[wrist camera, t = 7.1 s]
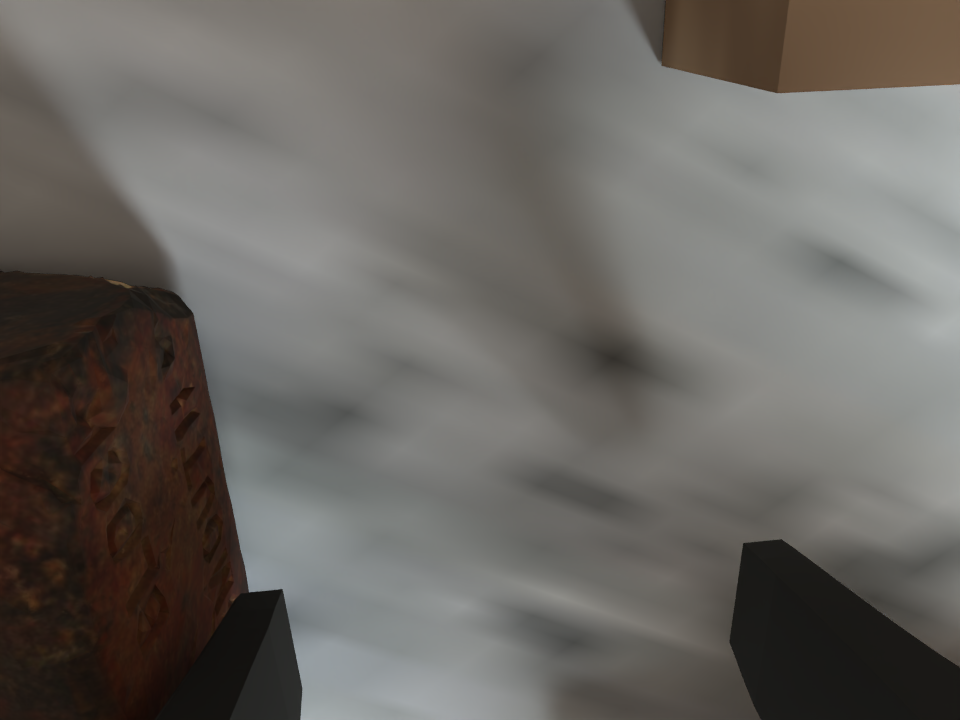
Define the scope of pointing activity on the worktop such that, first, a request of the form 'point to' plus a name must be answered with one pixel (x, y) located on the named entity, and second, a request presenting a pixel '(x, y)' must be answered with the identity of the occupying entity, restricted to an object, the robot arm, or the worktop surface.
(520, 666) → the worktop surface
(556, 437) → the worktop surface
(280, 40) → the worktop surface
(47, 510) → the brick
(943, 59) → the wooden frame
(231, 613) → the robot arm
